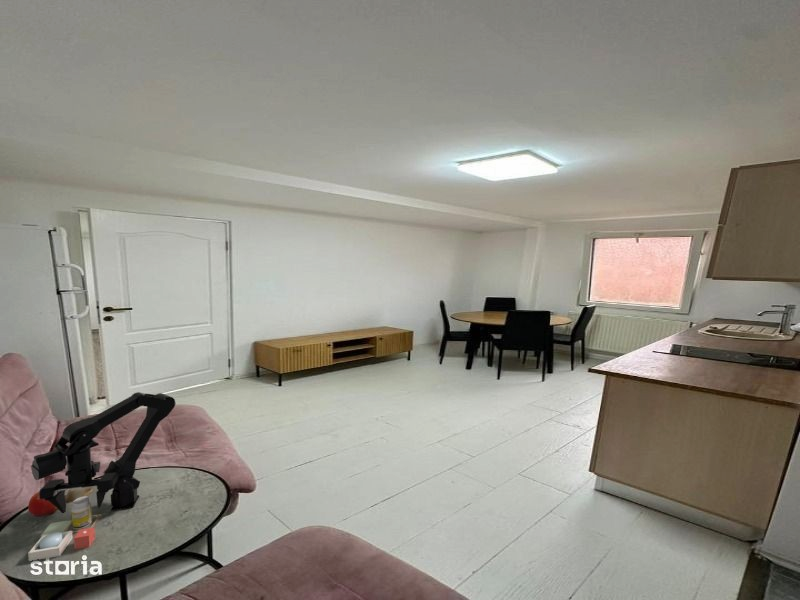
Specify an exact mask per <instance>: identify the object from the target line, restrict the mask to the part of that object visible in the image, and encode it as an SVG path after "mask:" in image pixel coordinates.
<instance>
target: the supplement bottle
mask: <svg viewBox="0 0 800 600" xmlns="http://www.w3.org/2000/svg"><path fill="white" fill-rule="evenodd" d="M92 515H93V513H92V503H91V502H90V497H89V496H88V495H87V496H84V497H80V498H77V499H76V500H74V501H72V508H71V520H72V525H71V526H72V529H73V530H80V529H86V528H87V527H88V526H90V525H91V524H92V523H93V517H92Z"/></svg>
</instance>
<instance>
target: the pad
mask: <svg viewBox="0 0 800 600" xmlns="http://www.w3.org/2000/svg"><path fill="white" fill-rule="evenodd" d="M71 522H72V519H70V520H65V521H57V522H51V523H50V524H49V525H48V526H47V527H46V528H45V530H44V531H43V532H42V533H41V534H40V538H41V537H42V536H43V535H47V534H52V533H56V532H64V531H65V530H66V528H67V527H68V526H69V524H70V523H71Z"/></svg>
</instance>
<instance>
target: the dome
mask: <svg viewBox="0 0 800 600" xmlns="http://www.w3.org/2000/svg"><path fill="white" fill-rule="evenodd" d="M39 540H40V539H39ZM61 541H62V533H60V532H56V533H52V534H49V535H47V536H45V537H43V538H42V539H41V540H40V542H39V543H40V549H45V548H51V547H57V546H58V545H59V544H60V542H61Z"/></svg>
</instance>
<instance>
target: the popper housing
mask: <svg viewBox="0 0 800 600" xmlns="http://www.w3.org/2000/svg"><path fill="white" fill-rule="evenodd" d="M72 531H73V530H67V531H66V532H60V533H62V541H61V542H60V544H59V545H58V546H57V547H51V548H45V549H40V543H39V542H40V540H41V539H42V538H43V537H45V536H47V535H49V534H47V535H43V536H41V537H40V538H39V540H37V542H36V543H35V544H34V546H32V547H31V549H30V551H28V553H27V554H28V555H27V556H28V562H32V560H33V561H38V560H37V559H39V560H44V559H50V558H56V557H60V556H61V555H62V554H63V552H64V551H65V550H66V548H67V547H68V545H69V544H70V542H71V541H72V540H73V539H74V537H73V533H72Z"/></svg>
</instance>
